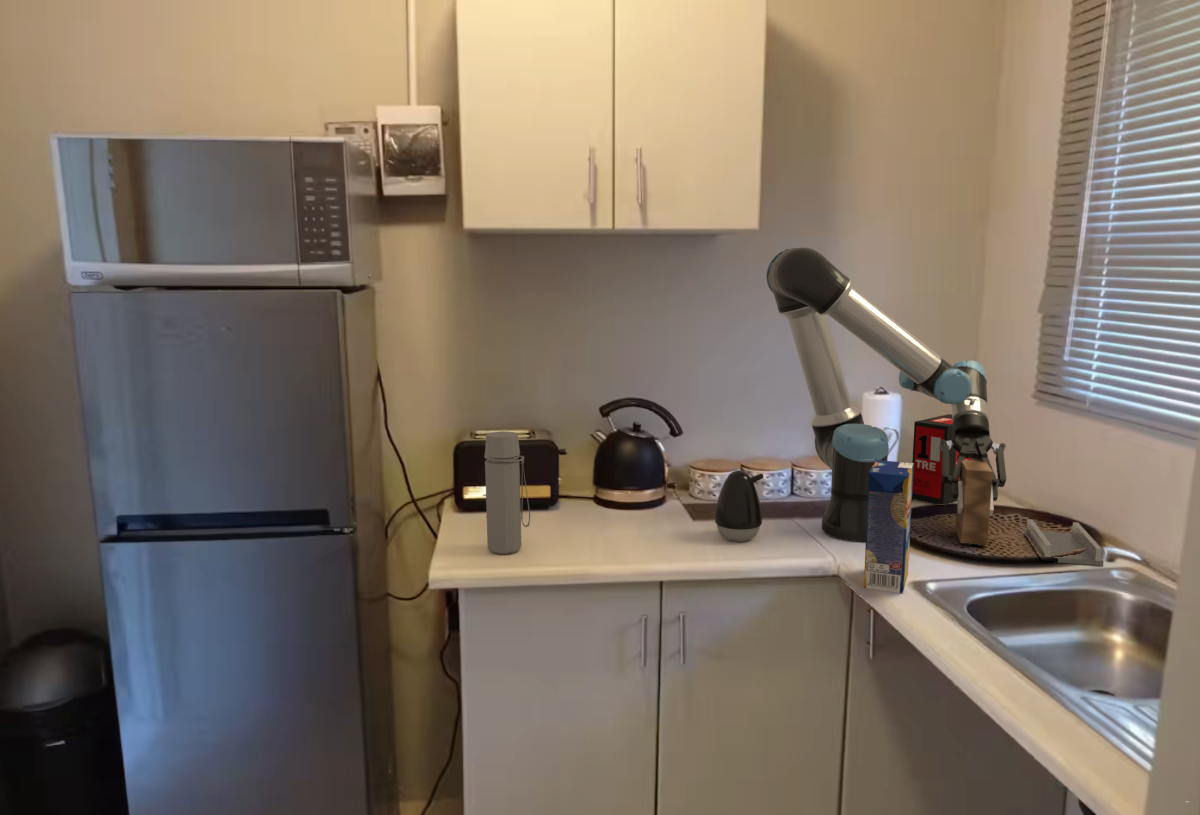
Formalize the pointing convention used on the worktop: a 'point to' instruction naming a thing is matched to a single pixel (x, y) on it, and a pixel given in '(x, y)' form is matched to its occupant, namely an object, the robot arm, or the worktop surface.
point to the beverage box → (888, 525)
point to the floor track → (1065, 544)
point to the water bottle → (503, 492)
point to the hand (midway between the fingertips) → (975, 511)
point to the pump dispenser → (739, 507)
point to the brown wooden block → (974, 502)
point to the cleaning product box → (932, 460)
